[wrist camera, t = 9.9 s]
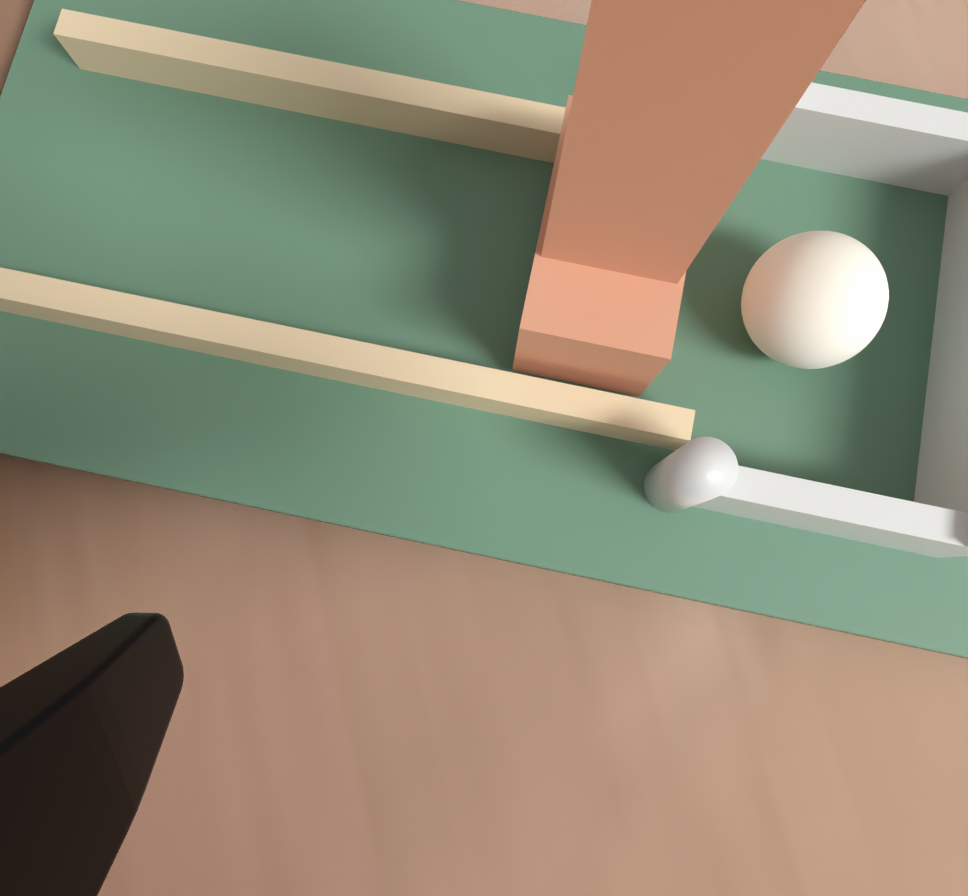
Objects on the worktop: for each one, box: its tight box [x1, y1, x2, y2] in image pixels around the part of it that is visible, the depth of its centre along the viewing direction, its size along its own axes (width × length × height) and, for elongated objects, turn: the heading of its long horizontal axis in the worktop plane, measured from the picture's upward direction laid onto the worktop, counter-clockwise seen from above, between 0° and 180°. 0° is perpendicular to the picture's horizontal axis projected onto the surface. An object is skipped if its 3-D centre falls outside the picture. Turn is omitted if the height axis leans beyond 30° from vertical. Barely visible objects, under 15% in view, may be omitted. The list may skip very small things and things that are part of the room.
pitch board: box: [0, 0, 968, 659], centre depth 22 cm, size 16×30×2 cm, turn 78°
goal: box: [644, 82, 968, 558], centre depth 20 cm, size 12×8×4 cm
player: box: [512, 0, 866, 396], centre depth 15 cm, size 6×4×14 cm, turn 168°
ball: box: [741, 230, 889, 369], centre depth 20 cm, size 4×4×4 cm
